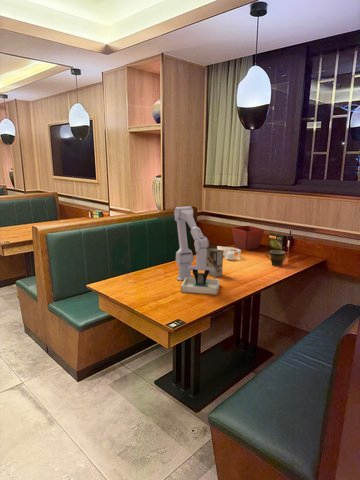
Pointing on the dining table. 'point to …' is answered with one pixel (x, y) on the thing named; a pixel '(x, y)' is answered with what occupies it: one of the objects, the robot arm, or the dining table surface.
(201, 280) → the cylinder
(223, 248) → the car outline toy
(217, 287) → the walled box
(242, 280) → the dining table surface
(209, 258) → the coffee box
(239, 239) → the plant pot
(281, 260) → the ceramic cup
